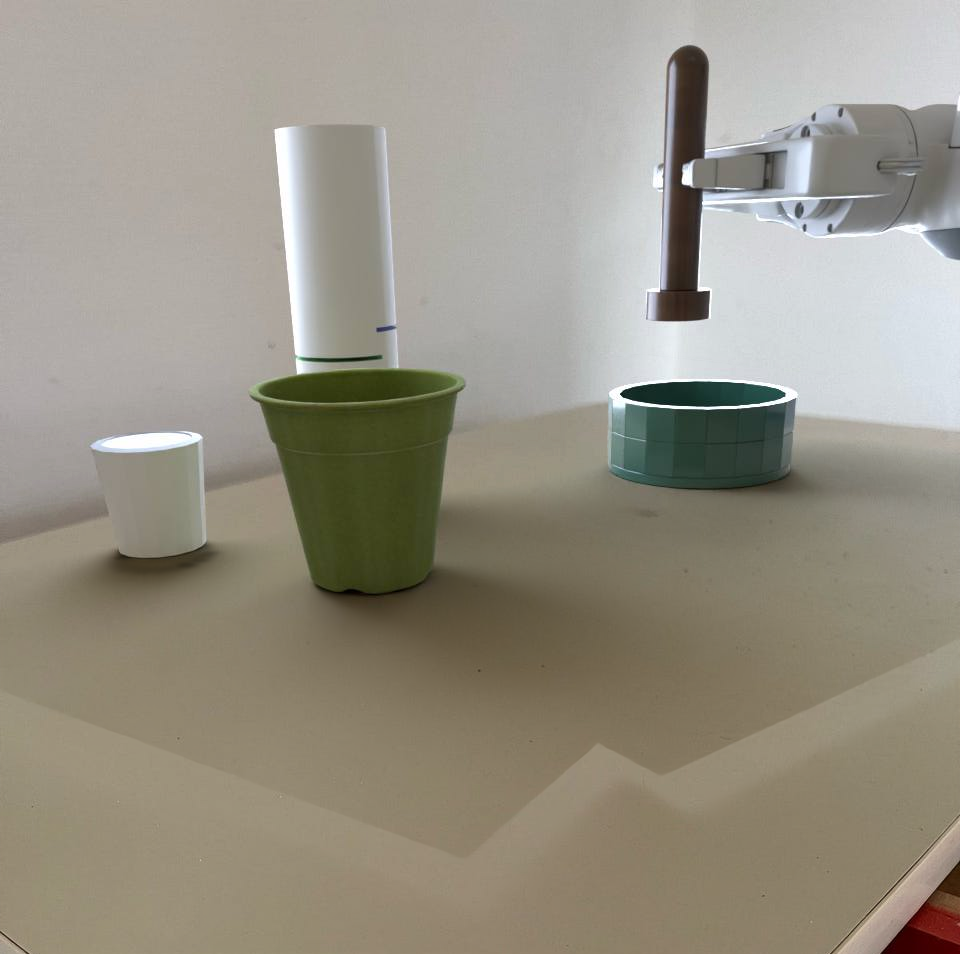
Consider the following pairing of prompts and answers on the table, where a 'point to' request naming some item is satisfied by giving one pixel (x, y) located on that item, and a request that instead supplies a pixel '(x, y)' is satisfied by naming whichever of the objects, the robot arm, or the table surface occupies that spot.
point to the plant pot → (363, 469)
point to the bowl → (701, 433)
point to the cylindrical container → (338, 245)
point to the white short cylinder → (153, 491)
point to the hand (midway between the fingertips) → (671, 175)
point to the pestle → (682, 192)
